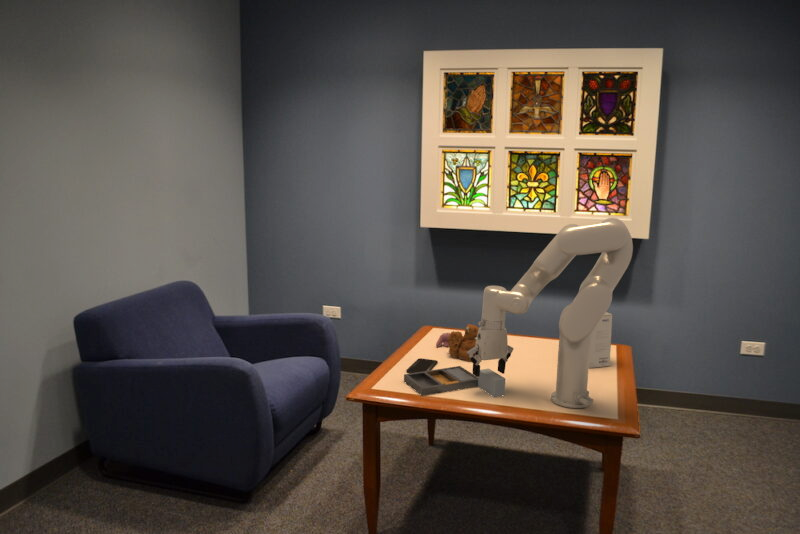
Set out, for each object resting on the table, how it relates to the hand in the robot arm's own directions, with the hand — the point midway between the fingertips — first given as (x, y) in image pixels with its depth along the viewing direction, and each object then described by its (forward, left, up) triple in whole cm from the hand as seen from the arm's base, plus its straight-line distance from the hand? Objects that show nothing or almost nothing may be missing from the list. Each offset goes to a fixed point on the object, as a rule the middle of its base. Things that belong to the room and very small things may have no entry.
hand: (488, 373), depth 204 cm
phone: (+28, +10, -6) cm, 31 cm away
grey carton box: (+7, -48, -6) cm, 49 cm away
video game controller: (+45, -10, -6) cm, 46 cm away
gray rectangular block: (-1, -1, -6) cm, 6 cm away
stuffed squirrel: (+32, -10, -6) cm, 34 cm away
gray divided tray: (+11, +11, -6) cm, 17 cm away
